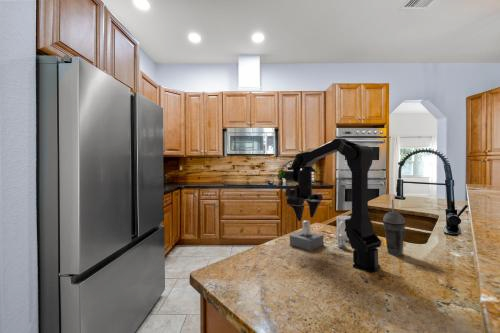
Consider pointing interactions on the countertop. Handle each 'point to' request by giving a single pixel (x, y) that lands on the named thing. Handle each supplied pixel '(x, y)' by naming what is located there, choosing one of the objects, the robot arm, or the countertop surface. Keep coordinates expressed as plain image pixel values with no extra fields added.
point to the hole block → (306, 240)
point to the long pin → (306, 228)
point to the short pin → (341, 241)
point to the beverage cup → (394, 231)
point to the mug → (342, 225)
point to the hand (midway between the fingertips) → (305, 219)
